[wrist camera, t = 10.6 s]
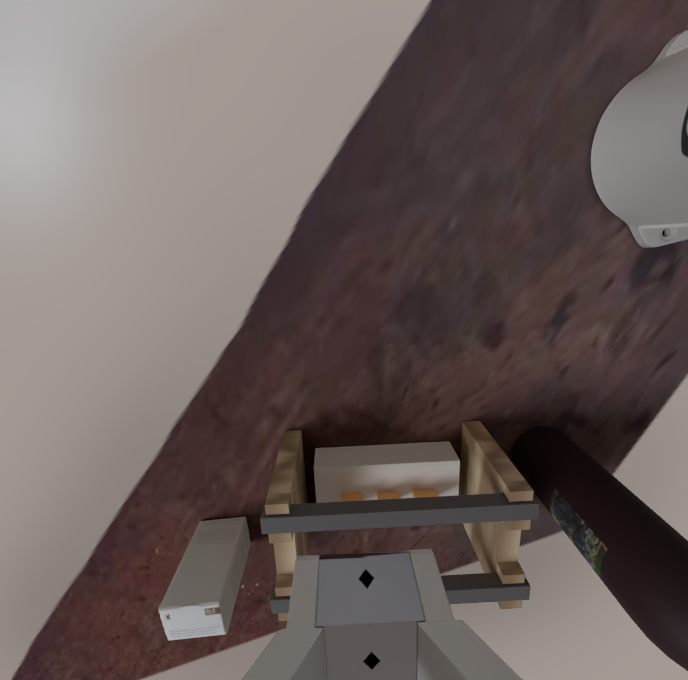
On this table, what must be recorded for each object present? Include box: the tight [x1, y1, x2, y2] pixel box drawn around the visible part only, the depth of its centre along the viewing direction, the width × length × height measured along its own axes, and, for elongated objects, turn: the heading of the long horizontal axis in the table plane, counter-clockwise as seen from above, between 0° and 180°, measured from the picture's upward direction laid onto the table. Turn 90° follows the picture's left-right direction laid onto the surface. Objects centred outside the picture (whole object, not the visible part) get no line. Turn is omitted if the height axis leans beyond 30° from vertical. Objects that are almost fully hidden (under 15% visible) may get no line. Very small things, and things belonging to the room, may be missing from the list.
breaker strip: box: [314, 441, 460, 503], centre depth 44 cm, size 16×8×4 cm, turn 93°
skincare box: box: [159, 517, 251, 640], centre depth 42 cm, size 6×4×12 cm
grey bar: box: [270, 573, 530, 614], centre depth 36 cm, size 24×2×2 cm, turn 93°
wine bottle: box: [512, 427, 688, 671], centre depth 31 cm, size 7×7×30 cm
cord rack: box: [265, 421, 534, 621], centre depth 40 cm, size 23×13×13 cm, turn 93°
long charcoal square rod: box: [260, 493, 539, 534], centre depth 33 cm, size 24×2×2 cm, turn 93°
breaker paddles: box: [341, 489, 438, 502], centre depth 40 cm, size 10×1×3 cm, turn 93°
